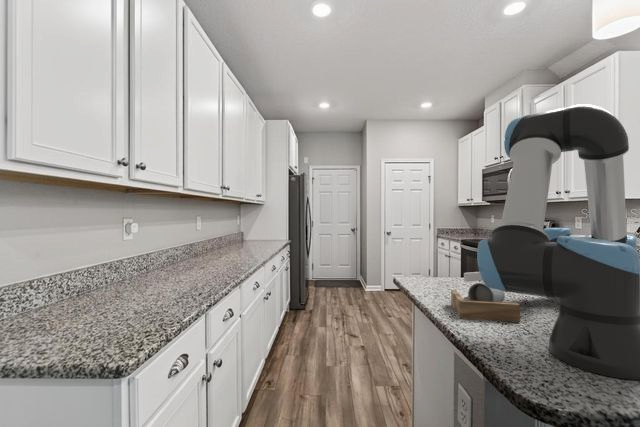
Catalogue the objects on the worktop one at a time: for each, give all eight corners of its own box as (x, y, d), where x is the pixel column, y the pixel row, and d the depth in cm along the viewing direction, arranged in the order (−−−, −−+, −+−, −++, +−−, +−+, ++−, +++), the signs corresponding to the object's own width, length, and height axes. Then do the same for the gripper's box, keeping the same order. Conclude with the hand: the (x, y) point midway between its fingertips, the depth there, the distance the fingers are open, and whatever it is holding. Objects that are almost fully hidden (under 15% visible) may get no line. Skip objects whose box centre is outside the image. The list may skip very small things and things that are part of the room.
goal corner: (522, 322, 78) (522, 304, 78) (460, 318, 82) (460, 301, 82) (500, 304, 94) (500, 290, 95) (449, 301, 98) (449, 287, 98)
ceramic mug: (506, 307, 90) (506, 281, 90) (494, 312, 85) (493, 285, 86) (471, 300, 99) (471, 276, 99) (458, 304, 94) (457, 279, 94)
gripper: (578, 298, 84) (520, 305, 78) (501, 281, 108) (452, 285, 102) (577, 272, 84) (519, 276, 78) (501, 260, 108) (452, 263, 102)
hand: (481, 281), depth 90 cm, fingers open, 13 cm apart
